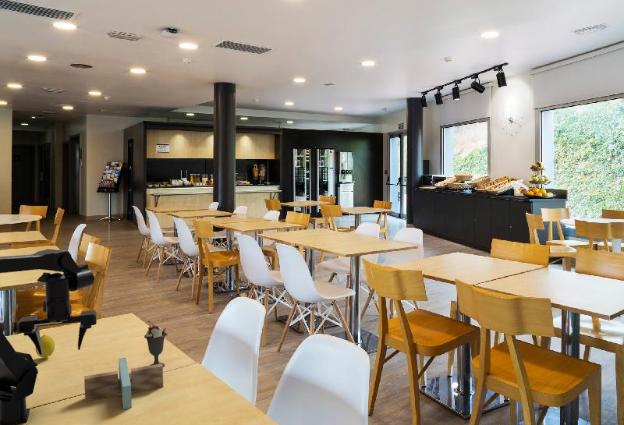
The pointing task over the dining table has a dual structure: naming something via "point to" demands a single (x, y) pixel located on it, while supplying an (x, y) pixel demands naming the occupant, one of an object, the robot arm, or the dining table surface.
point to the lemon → (46, 346)
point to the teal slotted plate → (125, 383)
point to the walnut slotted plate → (111, 386)
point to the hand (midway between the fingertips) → (60, 351)
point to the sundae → (155, 342)
